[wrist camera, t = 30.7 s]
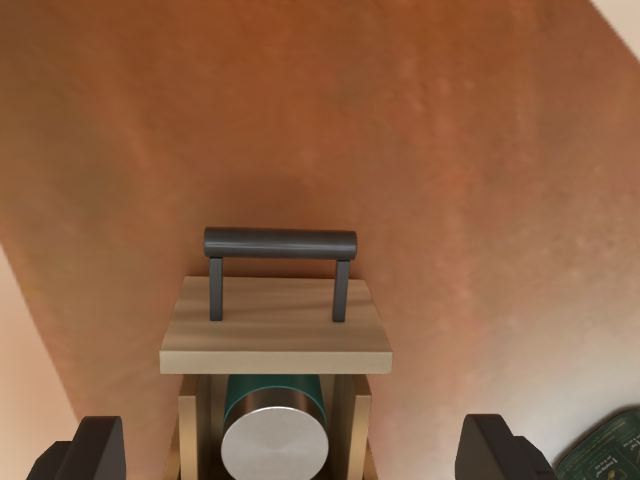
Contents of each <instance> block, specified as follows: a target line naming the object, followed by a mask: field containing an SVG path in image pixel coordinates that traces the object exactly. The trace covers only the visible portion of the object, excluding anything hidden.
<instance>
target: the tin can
mask: <svg viewBox="0 0 640 480" xmlns="http://www.w3.org/2000/svg"><path fill="white" fill-rule="evenodd" d="M222 431H223V435H222V444H221V457H222V461H223V463H224V466H225V468H226V469H227V471H228V472H229V474H230V475H231V476H232V477H233V478H234V479H235V480H311V479H312V478H313V477H314V476H315V475H316V474H317V473H318V472H319V471H320V470H321V468H322V467H323V465H324V463H325V461H326V459H327V456H328V451H329V442H328V435H327V422H326V415H325V409H324V402H323V396H322V389H321V382H320V377H319V374H229V378H228V383H227V391H226V400H225V409H224V418H223V427H222Z"/></svg>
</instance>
